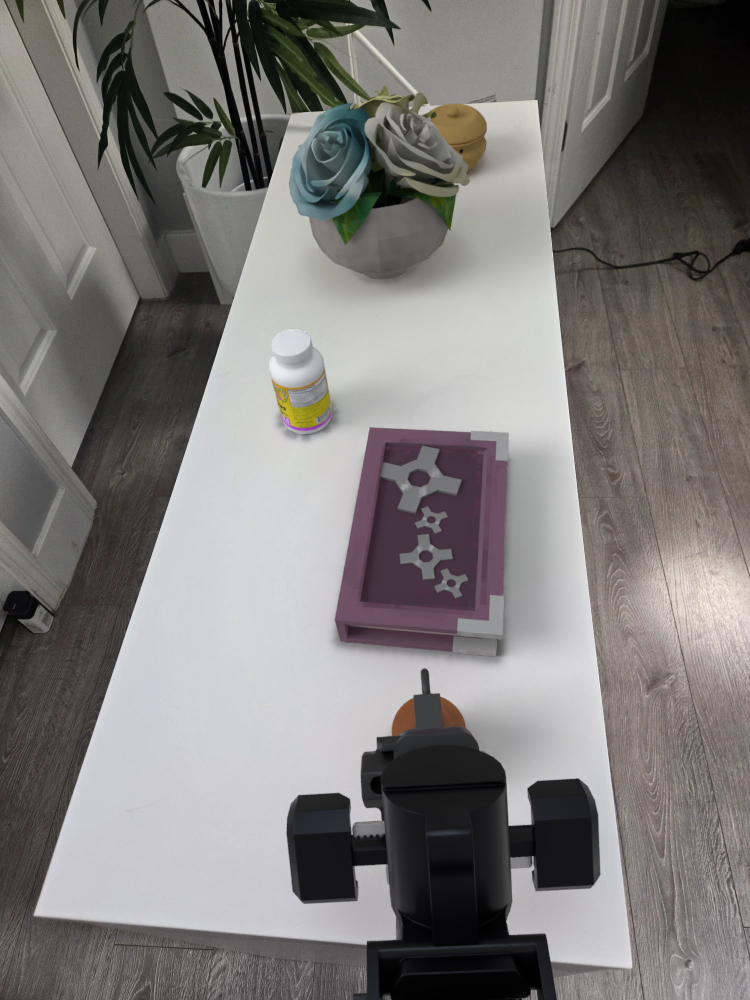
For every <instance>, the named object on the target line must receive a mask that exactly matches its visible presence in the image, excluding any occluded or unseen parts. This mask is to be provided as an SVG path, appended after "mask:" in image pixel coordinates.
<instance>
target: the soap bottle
mask: <svg viewBox="0 0 750 1000" xmlns="http://www.w3.org/2000/svg"><path fill="white" fill-rule="evenodd" d="M440 699H441V709H442V720H443V727H451V726H461V727H464V728H466V729H467V724H466V721H465V718H464V716H463V714H462V713H461V711H460V709H459V708H458V707H457V706H456V705H455V704H454V703H453V702H451V700H448V699H447V698H445V697H442V696H440ZM408 729H416V726H415V712H414V699H413V697H412V698H409V700H407V701H405V702H404V703H403V704H402V705H401V706H400V707H399V709H398V710H397V712H396V713H395V715H394V718H393V721H392V725H391V736H399V734H400V733H402V732H403V731H405V730H408Z"/></svg>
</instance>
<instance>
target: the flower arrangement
mask: <svg viewBox="0 0 750 1000" xmlns="http://www.w3.org/2000/svg"><path fill="white" fill-rule="evenodd" d="M374 92H375V93H377V96H371V97H370V98H369V99H368V100H367V101H365V102H364V101H363V100H362V99H359V101H360V102H361V104H359V105H358V103H357V102H356V103H353V102H348V103H343V104H339V105H336V106H334V107H330V108H329V109H327V110H325V111H323V113H320V114H319V115H317V116H316V118H315V120H314V122H313V125H312V127H311V129H310V131H309V133H308V135H307V137H306V139H305V140H304V141H303V143H301V144H299V145H297V148H298V149H297V150H296V152H295V153H294V155H293V157H292V161H291V169H290V173H289V181H288V186H289V194H290V197H291V199H292V202H293V204H295V206H296V209H297V213H298V214H299V215H300V216H302V217H308V218H309V219H308V220H309V225H310V230H311V233H312V237H313V238H314V240H315V242H316V243H317V245H318V247H319V249H320V250H321V252H322V253H323V254H325V256H327V257H328V259H330V261H332V263H334V264H336V265H339V266H341V267H343V268H346V269H349V270H351V271H353V272H357V273H359V274H361V275H364V276H366V277H369V278H372V279H376V280H387V279H392V278H397V277H399V276H401V275H403V274H404V273H406V271H408V270H409V269H411V268H413V267H415V266H417V265H420V264H422V263H423V262H425V261H426V260H428V259H429V258H430V257H431V256H433V254H435V253H436V251H437V250H438V249H439V248H440V247H441V246H443V245H444V242H445V239H446V236H447V235H448V234H447V233H448V231H451V230H452V229H451V228H452V224H453V217H454V211H455V205H456V199H457V194H458V193H459V190H460V185H461V186H462V187H466V186H468V185H469V184H470V183H471V179H470V178H469V177H468V174H467V173H468V171H469V170H468V167H469V165H468V164H467V163H466V162H464V161H463V157H462V155H460V154H458V153H457V152H456V151H455V150H454V149H453V148H452V147H451V146H450V145H449V144H448V143H447V142H446V140H445V139H444V137H443V136H442V135H441V133H440V132H439V130H438V129H437V128H436V126H435V125H434V124H433V123H432V122H431V118H435V117H436V116H437V114H436V112H429V111H428V112H426V113H424V114H419V112H420V110H421V108H422V106H423V105H428V104H429V101H428V99H427V97H426V95H425V94H424V93H423V92H421V91H418V92H416V93H415V95H414V94H408V95H406V96H403V95H400V94H395V93H394V94H391V95H390V93H389V90H388V88H387V86H386V85H383V87H382V89H381V90H380V91H379V90H375V91H374ZM410 102H413V105H412V107H411V108H410ZM353 104H354V105H353ZM352 105H353V106H352ZM351 106H352V108H351ZM350 108H351V109H350ZM459 184H460V185H459Z"/></svg>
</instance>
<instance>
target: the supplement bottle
mask: <svg viewBox="0 0 750 1000" xmlns="http://www.w3.org/2000/svg"><path fill="white" fill-rule="evenodd" d="M270 347H271V351H272V356H271V358H270V359H269V363H268V371H269V377H270V379H271V383H272V387H273V391H274V394H275V398H276V402H277V406H278V409H279V413H280V417H281V421H282V423H283V425H284V426H285V427H286V429H288V430H289V431H291V432H293V433H295V434H300V435H311V434H315V433H317V432H319V431H322V430H323V429H324V428H326V427H327V426H328V425H329V423H330V422H331V420H332V418H333V413H334V411H333V404H332V398H331V393H330V389H329V383H328V378H327V373H326V366H325V361H324V357H323V355H322V353H321V351H319V350H318V348H316V347H315V346H314V345H313V342H312V337H311V336H310V334H309V333H308V332H307V331H305V330H303V329H300V328H287V329H284V330H282V331H280V332H278V333H277V334H275V336H274V337H273V338H272V340H271V344H270Z"/></svg>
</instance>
